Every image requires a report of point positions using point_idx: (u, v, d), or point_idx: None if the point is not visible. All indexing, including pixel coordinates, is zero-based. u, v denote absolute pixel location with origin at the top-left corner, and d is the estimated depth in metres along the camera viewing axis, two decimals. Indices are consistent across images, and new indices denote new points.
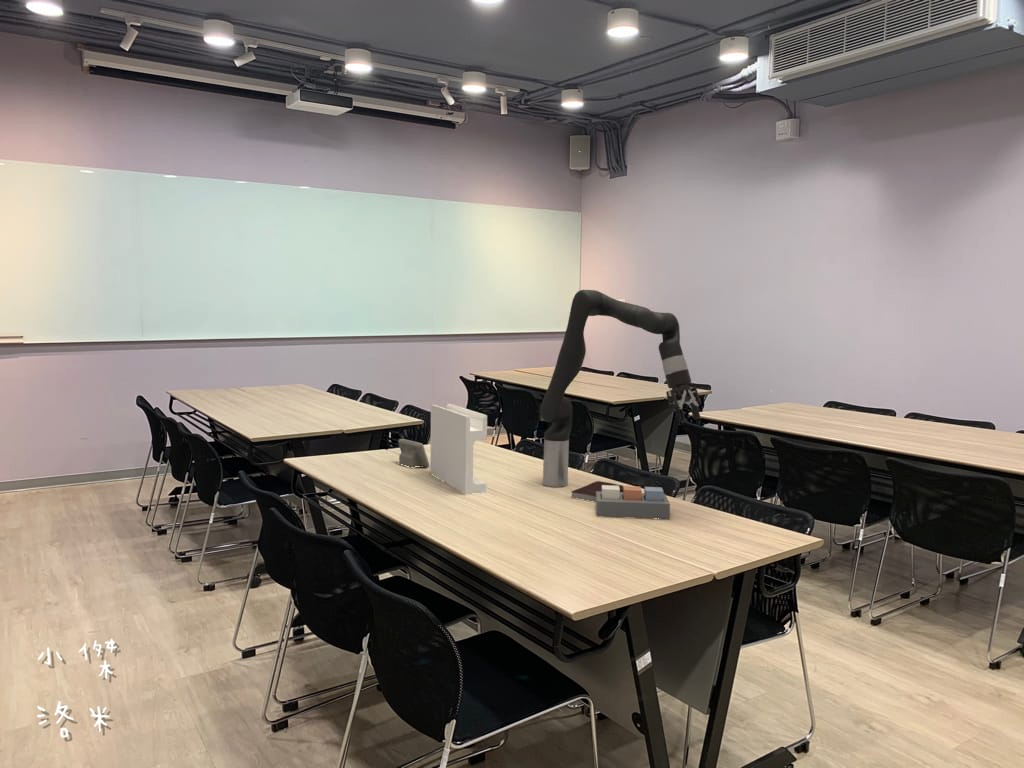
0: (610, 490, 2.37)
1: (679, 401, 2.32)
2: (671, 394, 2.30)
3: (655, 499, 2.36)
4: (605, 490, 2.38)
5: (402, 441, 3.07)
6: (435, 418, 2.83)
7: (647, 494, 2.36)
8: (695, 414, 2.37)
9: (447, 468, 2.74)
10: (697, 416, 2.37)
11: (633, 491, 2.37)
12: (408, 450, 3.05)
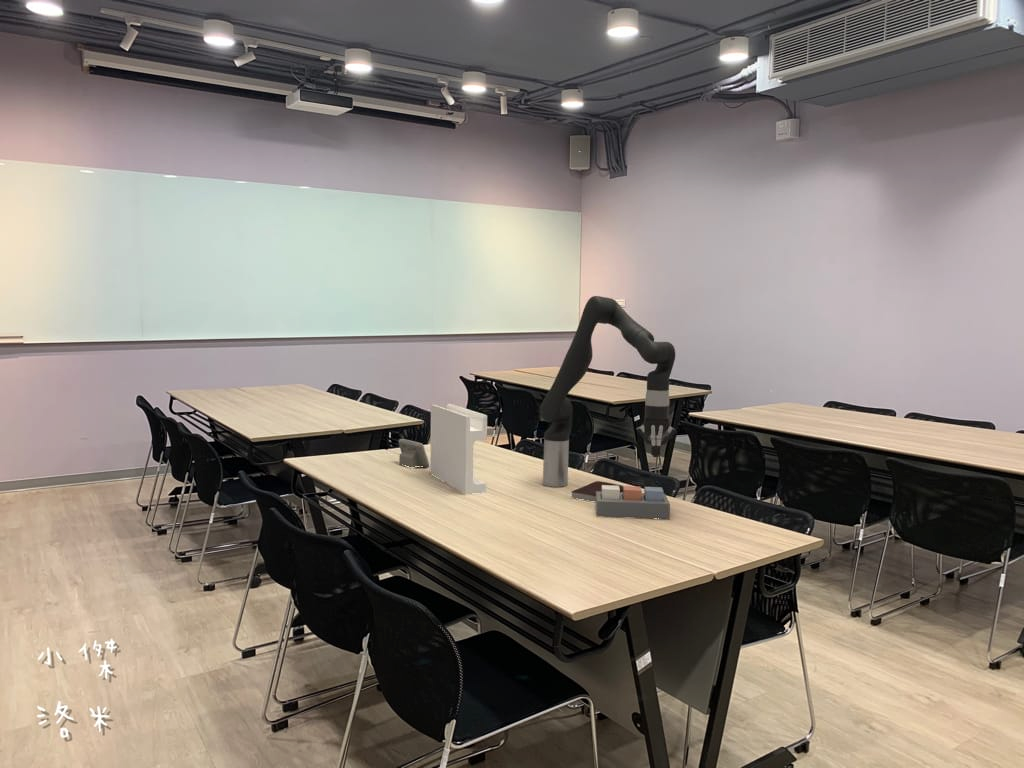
0: (610, 490, 2.37)
1: (651, 437, 2.37)
2: (639, 433, 2.37)
3: (655, 499, 2.36)
4: (605, 490, 2.38)
5: (402, 441, 3.07)
6: (435, 418, 2.83)
7: (647, 494, 2.36)
8: None
9: (447, 468, 2.74)
10: None
11: (633, 491, 2.37)
12: (408, 450, 3.05)
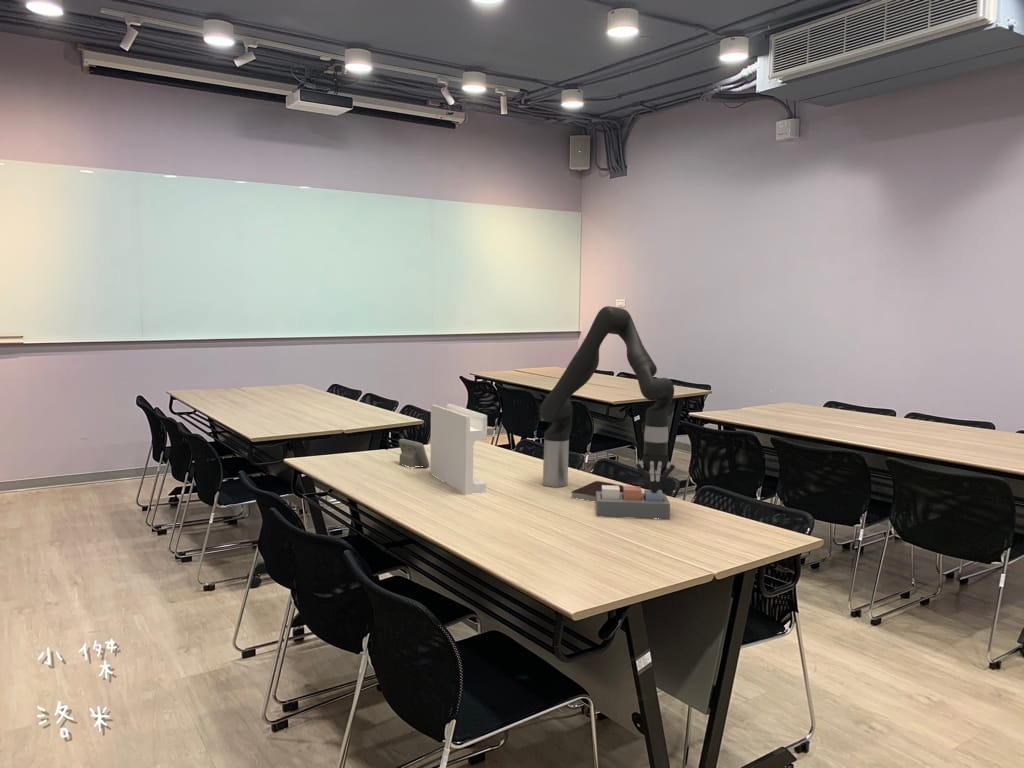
0: (610, 490, 2.37)
1: (650, 473, 2.38)
2: (638, 468, 2.38)
3: None
4: (605, 490, 2.38)
5: (402, 441, 3.07)
6: (435, 418, 2.83)
7: (647, 497, 2.37)
8: None
9: (447, 468, 2.74)
10: None
11: (633, 491, 2.37)
12: (408, 450, 3.05)
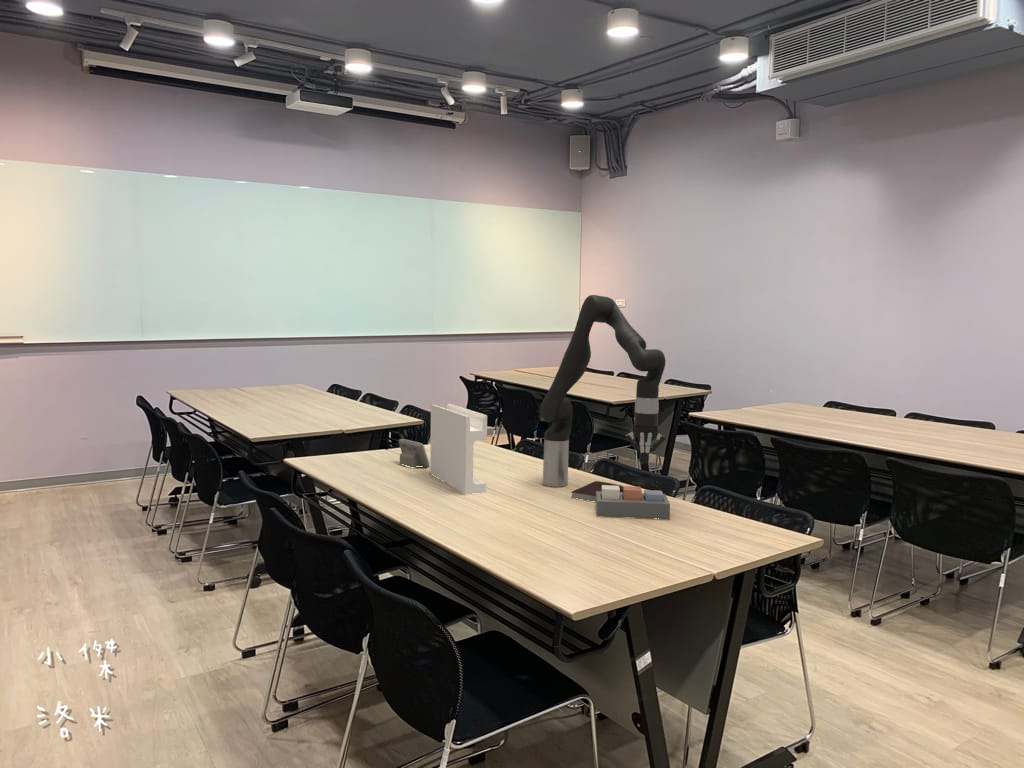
0: (610, 490, 2.37)
1: (640, 444, 2.38)
2: (628, 440, 2.38)
3: None
4: (605, 490, 2.38)
5: (403, 441, 3.07)
6: (435, 418, 2.83)
7: (647, 497, 2.37)
8: None
9: (447, 468, 2.74)
10: None
11: (633, 491, 2.37)
12: (408, 450, 3.05)
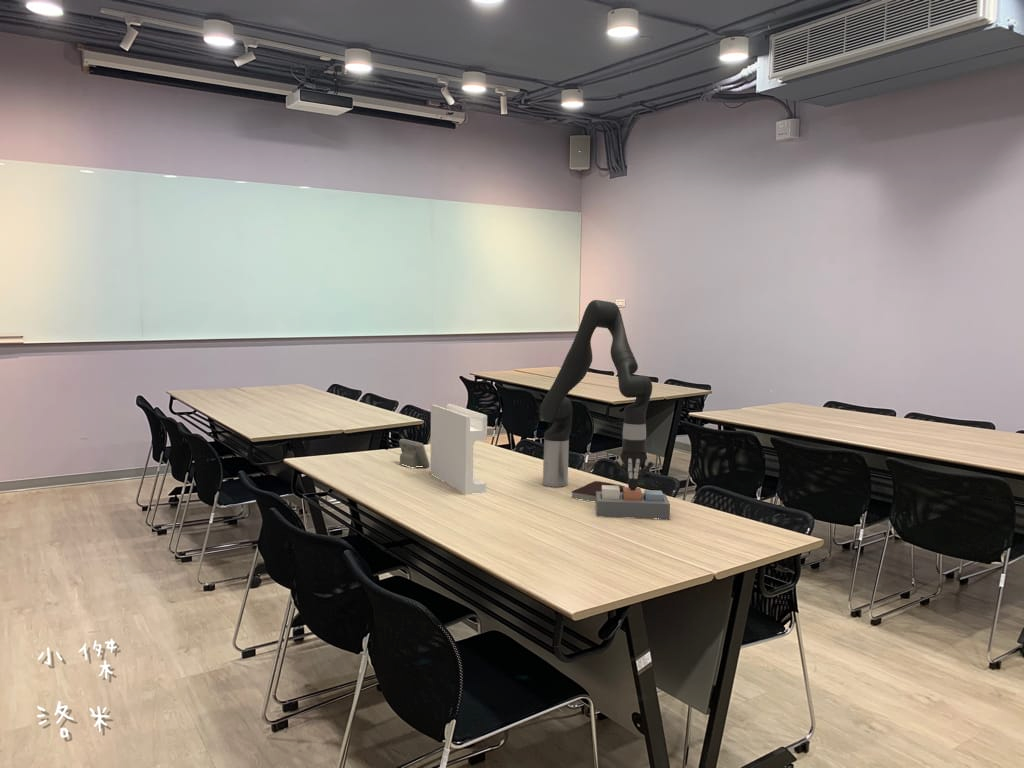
0: (610, 490, 2.37)
1: (628, 470, 2.38)
2: None
3: None
4: (605, 490, 2.38)
5: (403, 441, 3.07)
6: (435, 418, 2.83)
7: (647, 497, 2.37)
8: None
9: (447, 468, 2.74)
10: None
11: (633, 492, 2.37)
12: (409, 450, 3.05)
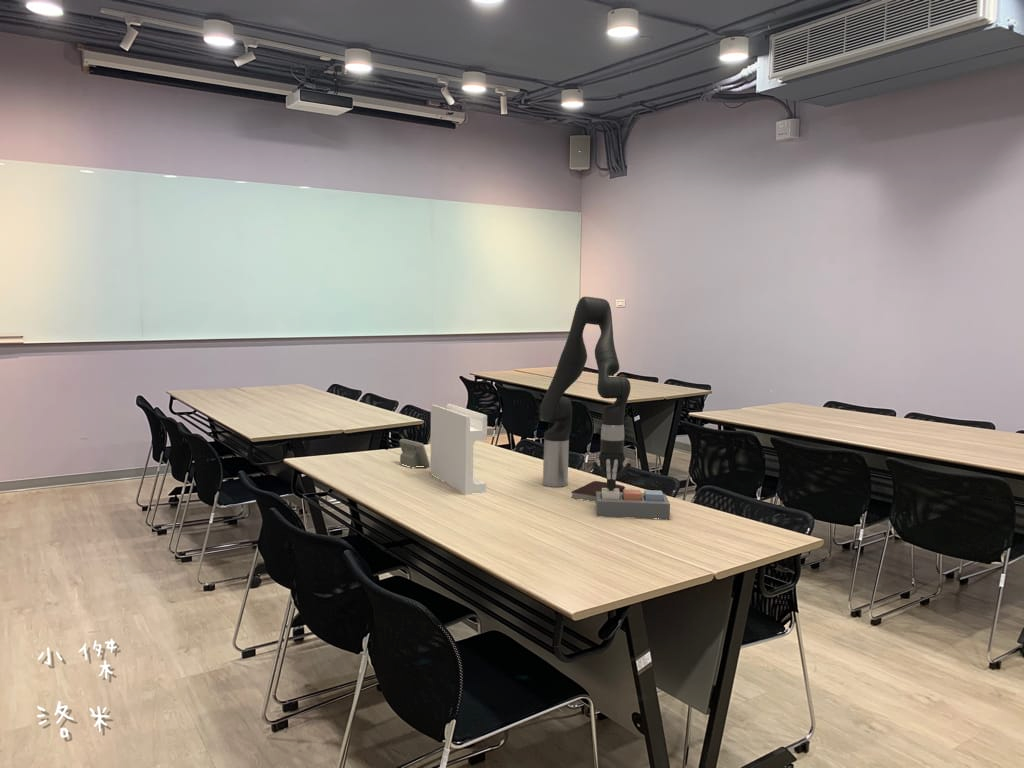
0: (610, 493, 2.37)
1: None
2: (594, 466, 2.39)
3: None
4: (605, 493, 2.38)
5: (403, 441, 3.07)
6: (435, 418, 2.83)
7: (647, 497, 2.37)
8: None
9: (447, 468, 2.74)
10: None
11: (633, 494, 2.37)
12: (409, 450, 3.05)
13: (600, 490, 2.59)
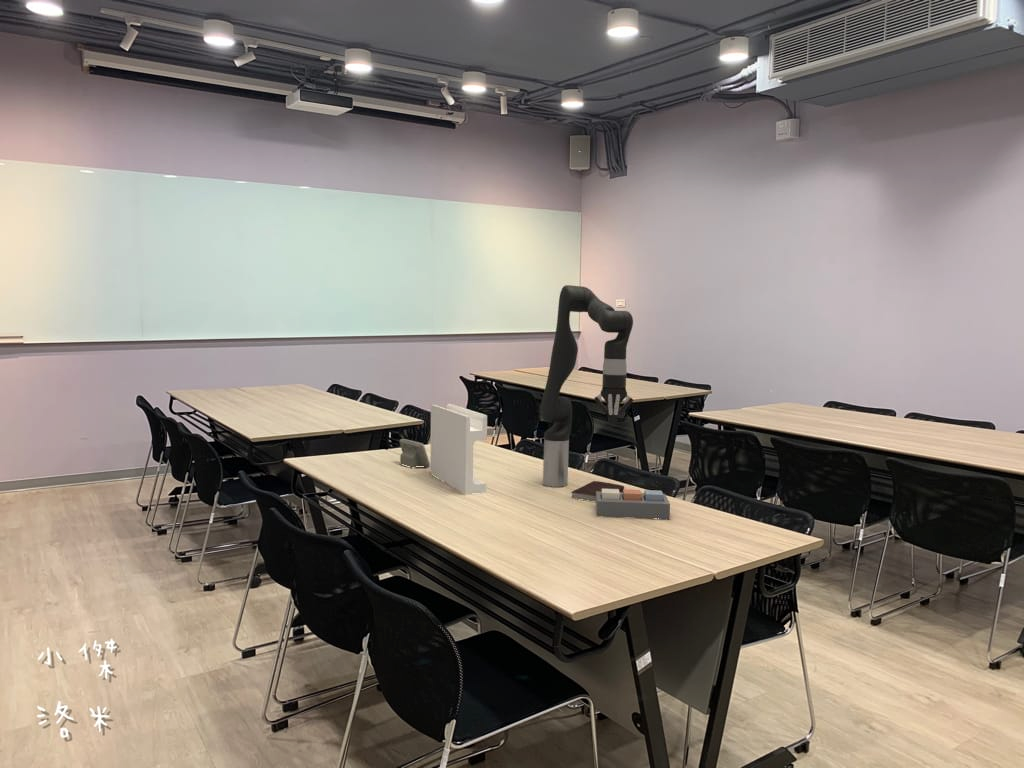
0: (610, 494, 2.38)
1: (608, 406, 2.37)
2: None
3: None
4: (605, 494, 2.38)
5: (403, 441, 3.07)
6: (435, 418, 2.83)
7: (647, 497, 2.37)
8: None
9: (447, 468, 2.74)
10: None
11: (633, 494, 2.37)
12: (409, 450, 3.05)
13: (600, 490, 2.59)
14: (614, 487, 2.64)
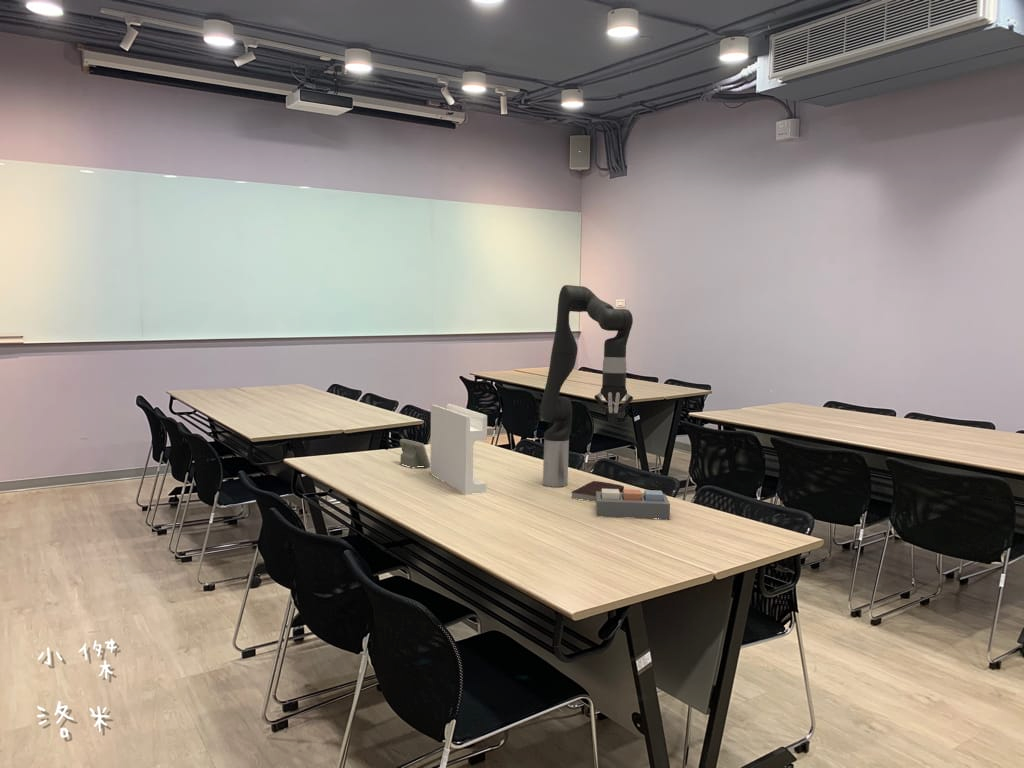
0: (610, 494, 2.38)
1: (608, 405, 2.37)
2: (596, 400, 2.37)
3: None
4: (605, 494, 2.38)
5: (403, 441, 3.07)
6: (435, 418, 2.83)
7: (647, 497, 2.37)
8: None
9: (447, 468, 2.74)
10: None
11: (633, 494, 2.37)
12: (409, 450, 3.05)
13: (600, 490, 2.59)
14: (614, 487, 2.64)
